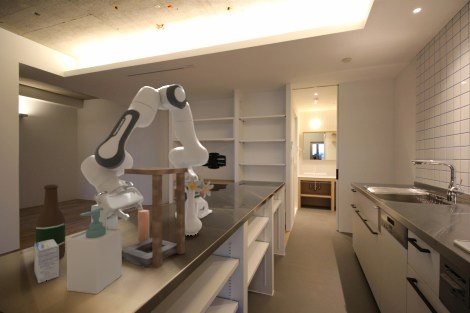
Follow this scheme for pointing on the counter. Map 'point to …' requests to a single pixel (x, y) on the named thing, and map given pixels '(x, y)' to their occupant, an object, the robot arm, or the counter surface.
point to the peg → (143, 225)
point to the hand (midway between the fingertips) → (135, 215)
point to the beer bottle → (51, 220)
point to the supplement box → (106, 219)
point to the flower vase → (191, 219)
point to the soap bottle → (94, 257)
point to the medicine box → (46, 260)
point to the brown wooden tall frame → (159, 221)
